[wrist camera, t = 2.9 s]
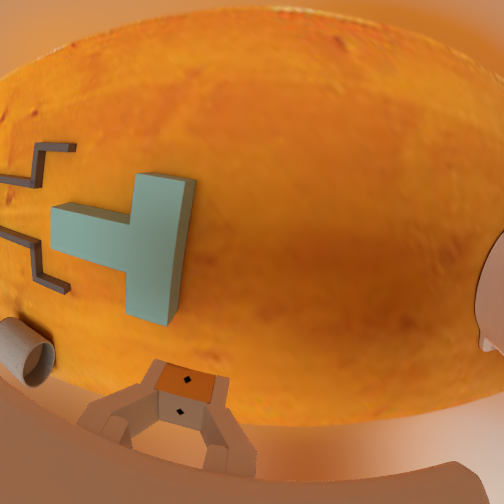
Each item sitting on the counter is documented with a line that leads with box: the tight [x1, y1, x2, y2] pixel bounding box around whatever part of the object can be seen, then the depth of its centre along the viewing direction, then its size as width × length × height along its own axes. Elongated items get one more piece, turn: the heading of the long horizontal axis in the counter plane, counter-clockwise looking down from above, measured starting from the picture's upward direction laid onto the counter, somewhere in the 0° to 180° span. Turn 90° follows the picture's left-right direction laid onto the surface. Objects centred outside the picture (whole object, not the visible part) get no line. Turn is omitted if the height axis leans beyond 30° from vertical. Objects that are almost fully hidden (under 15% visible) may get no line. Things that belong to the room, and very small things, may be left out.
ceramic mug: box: [0, 317, 55, 388], centre depth 26 cm, size 11×8×8 cm
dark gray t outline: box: [0, 143, 76, 295], centre depth 23 cm, size 16×16×1 cm
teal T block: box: [51, 172, 196, 327], centre depth 22 cm, size 13×12×3 cm
